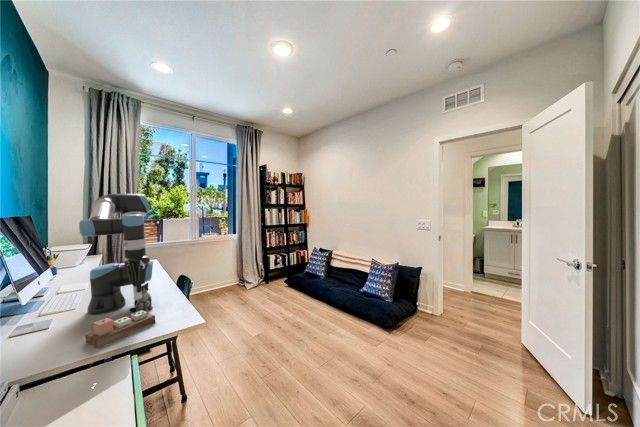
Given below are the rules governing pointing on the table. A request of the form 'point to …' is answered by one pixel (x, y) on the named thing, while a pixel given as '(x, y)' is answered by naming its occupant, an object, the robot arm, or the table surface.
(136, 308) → the figurine
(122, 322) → the tile two
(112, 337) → the board
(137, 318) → the tile three
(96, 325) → the pink toy block
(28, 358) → the table surface
